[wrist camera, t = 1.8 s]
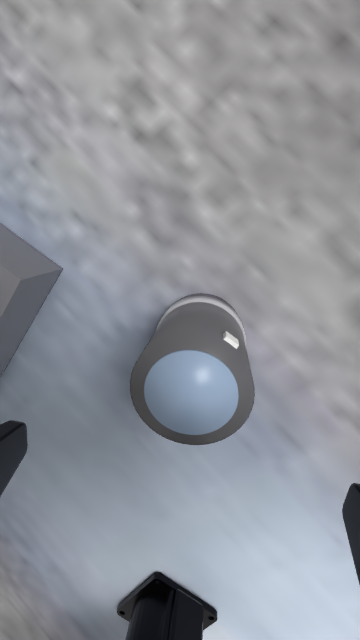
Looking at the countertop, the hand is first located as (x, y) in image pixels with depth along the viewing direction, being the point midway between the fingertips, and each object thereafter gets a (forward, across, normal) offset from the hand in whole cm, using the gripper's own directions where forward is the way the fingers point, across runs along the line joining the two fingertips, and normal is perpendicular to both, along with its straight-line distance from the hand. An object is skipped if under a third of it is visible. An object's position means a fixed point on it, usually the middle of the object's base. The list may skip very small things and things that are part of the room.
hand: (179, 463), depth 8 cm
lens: (+10, 0, 0) cm, 11 cm away
